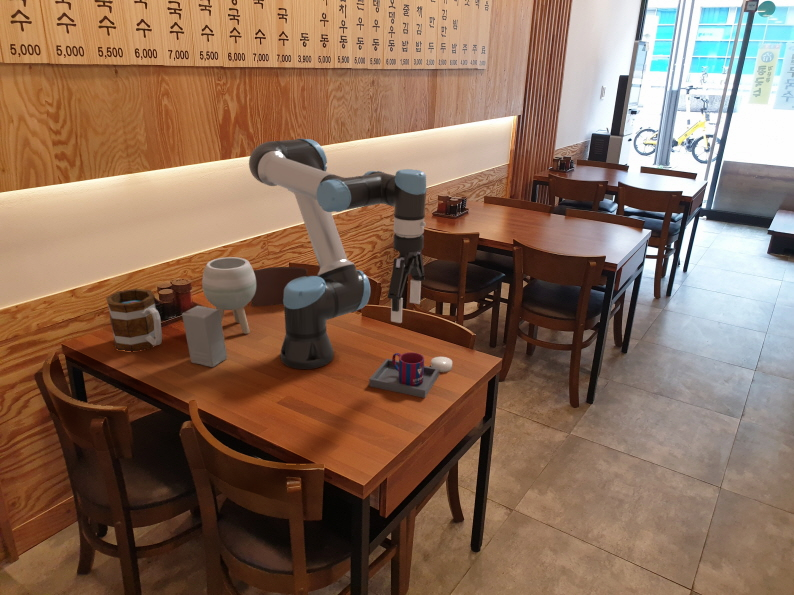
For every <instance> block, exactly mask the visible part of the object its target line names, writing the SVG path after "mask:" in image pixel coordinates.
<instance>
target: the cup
mask: <svg viewBox="0 0 794 595" xmlns="http://www.w3.org/2000/svg"><path fill="white" fill-rule="evenodd" d="M396 356H397V357H398V361H399V367H398V366H397V365H396V362H395V360H396ZM391 360H392V362H393V365H394V367H395V369H396V370H397V371H398V372H399V382H400V383H401V384H404V385H409V386H418V385H420V384H422V383H423V376H424V366H425V357H424V355H422V354H421V353H418V352H404V353H402V354H401V353H398V352H395V353H394V354H393V355H392V357H391Z"/></svg>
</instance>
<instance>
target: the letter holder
mask: <svg viewBox="0 0 794 595" xmlns="http://www.w3.org/2000/svg"><path fill="white" fill-rule="evenodd" d="M253 271H254V274H255V278H256V292H255V294H254V296H253V298H252V299H251V301H250V302H251V307H252V308H253V307H265V306H268V307H269V306H284V303H283V299H284V289H285V286H286V285H287V284H288V283H289V282H290V281H292V280H294V279H296V278H300V277H304V276H306V277H308V270H307V269H306V268H305V267H298V266H273V267H267V268H266V267H265V268H259V269H258V268H257V269H253Z"/></svg>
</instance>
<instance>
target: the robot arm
mask: <svg viewBox="0 0 794 595" xmlns="http://www.w3.org/2000/svg"><path fill="white" fill-rule="evenodd" d="M327 164H328V158H327V155H326V152H325V150H324V148H323V147H322V146H321V145H320V144H319V143H318V141H315V140H313V139H310V138H297V139H285V140H275V141H273V140H270V141H265V142H263V143H260V144H259V145H258V146H256V147H255V148H254V149H253V150H252V151H251V154H250V156H249V160H248V167H249V171H250V173H251V175H252V176H253V177H254V179H255V180H256V181H258V182H259V183H261V184H264V185H267V186H270V187H277V186H280V187H281V188H284V189H286V190H287V191H289V192H291V193H293V194H294V196H295V199H296V202H297V205H298V209H299V211H300V214H301V216H302V220H303V223H304V225H305V229H306V232H307V234H308V238H309V240H310V243H311V247H312V249H313V252H314V255H315V257H316V261H317V264H318V268H319V271H318V272H317V275H308V276H307V277H306V276H304V277H300V278H296V279H294V280H292V281H290V282H289V283H288V284H287V285H286V286H285V289H284V299H283V303H284V305H283V309H284V326H285V328H284V330H285V335H284V338H283V341H282V345H281V349H280V361H281V362H282V364H283V365H285V366H286V367H289V368H291V369H298V370H313V369H318V368H321V367H324V366H326V365H329V363H330V362H331V361H333V359H334V348H333V345H332V342H331V339H330V337H329V334H328V332H327V321H328V320H332V319H334V318H339V317H341V316H344V315H348V314H350V313H355V312H357V311H359V310H362V309H363V308H364V307H365V306H367V304H368V303H369V300H370V297H371V285H370V280H369V277H368V275H366V274H365V273H364V271H362V270H360V269H357V268H356V265H355V263H354V262H353V261H350V260H349V259H348V257H347V255H346V251H345V248H344V245H343V242H342V238H341V237H340V234H339V231H338V228H337V225H336V221H335V219H334V217H333V216H334V215H333V213H334V212H335V213H339V212H343V211H346V210H354V209H358V208H365V207H369V206H376V205H380V204H382V205H387V206H390V207H393V208H394V214H393V232H394V234H393V249H394V250H395V251H398V253H399V255H398V257H397V258H394V259H393V266H392V272H391V277H390V283H389V288H388V293H387V299H391V300H390V301H391V302H390V304H391V305H390V306H391V307H390V309H391V310H390V322H393V323H397V324H401V323H403V304H404V303H403V302H404V300H403V299H404V298H403V297H402V295H403V292H404V289H405V286H406V281H407V278H408V276H409V275H411V279H410V290H409V291H410V292H409V303H411V304H417V305H420V303H421V292H422V291H421V290H422V289H421V288H422V281H425V277H426V276H425V268H424V267H425V266H424V261H423V254H422V250H423V249H424V242H425V241H424V240H425V238H424V237H425V236H424V232H425V227H426V226H427V223H426V222H425V216H426V215H425V212H426V199H427V198H426V197H427V190H428V187H427V175H426V173H425V172H424V171H422V170H418V169H409V168H407V169H399V170H397V171H396V172H395V174H390V173H385V172H382V171H380V170H377V171H375V170H370V171H367V172H365V173H364V174H363V175H360V176H359V175H357V176H349V177H344V176H343V177H342V176H339V175H336V174H333V173H330V172H328V171H327V170H328V165H327Z"/></svg>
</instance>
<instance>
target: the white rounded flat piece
mask: <svg viewBox="0 0 794 595" xmlns="http://www.w3.org/2000/svg"><path fill="white" fill-rule="evenodd" d="M430 367H433V368H438V369H439V373H447V372H449V371H452V368H453V360H452V359H451V358H449V357H446V356H435V357H433V358H431V360H430Z"/></svg>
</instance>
